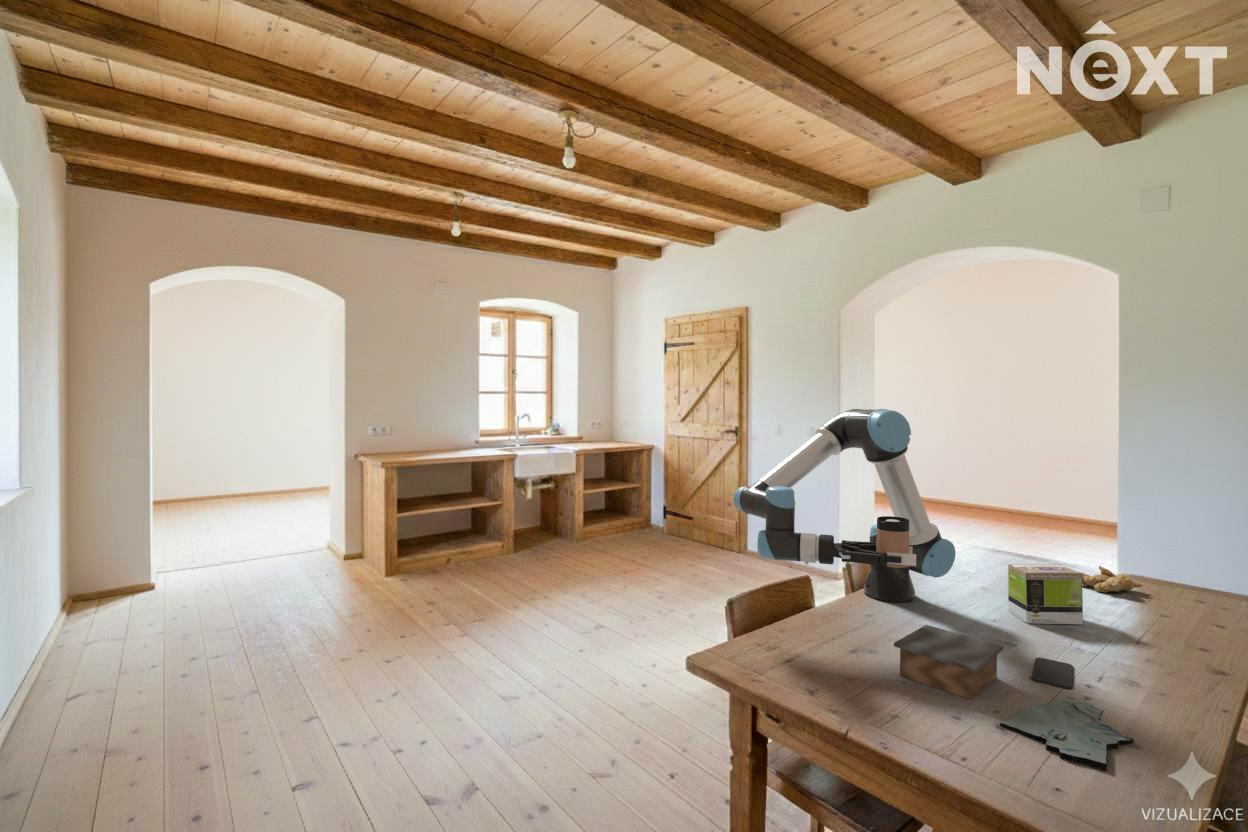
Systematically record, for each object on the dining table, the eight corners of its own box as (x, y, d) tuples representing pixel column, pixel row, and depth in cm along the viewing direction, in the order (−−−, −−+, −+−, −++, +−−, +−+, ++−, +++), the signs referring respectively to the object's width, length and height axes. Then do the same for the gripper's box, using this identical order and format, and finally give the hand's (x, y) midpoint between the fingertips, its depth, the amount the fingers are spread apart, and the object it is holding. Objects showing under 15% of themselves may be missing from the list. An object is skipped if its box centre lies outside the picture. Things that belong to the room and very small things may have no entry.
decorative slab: (966, 697, 129) (966, 687, 129) (1082, 699, 128) (1082, 689, 128) (1046, 773, 103) (1046, 761, 103) (1193, 776, 102) (1193, 764, 102)
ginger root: (1156, 594, 190) (1149, 569, 190) (1106, 606, 190) (1100, 581, 191) (1116, 581, 206) (1110, 558, 206) (1071, 592, 206) (1065, 569, 206)
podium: (893, 674, 138) (893, 642, 138) (925, 654, 149) (926, 624, 149) (974, 703, 125) (974, 667, 125) (1003, 678, 136) (1003, 645, 136)
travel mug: (908, 595, 154) (909, 517, 154) (909, 604, 147) (909, 523, 147) (876, 591, 158) (877, 515, 157) (875, 600, 151) (875, 520, 150)
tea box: (1061, 613, 177) (1061, 563, 177) (1083, 626, 167) (1084, 573, 167) (1006, 611, 179) (1007, 562, 178) (1026, 624, 169) (1026, 572, 168)
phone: (1073, 664, 142) (1072, 688, 130) (1073, 667, 142) (1072, 691, 131) (1035, 656, 147) (1031, 678, 135) (1035, 659, 147) (1031, 682, 135)
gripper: (819, 553, 168) (909, 560, 160) (816, 573, 149) (918, 582, 141) (819, 526, 168) (909, 532, 160) (816, 543, 149) (919, 550, 141)
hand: (913, 556), depth 151 cm, fingers closed on travel mug, 7 cm apart
